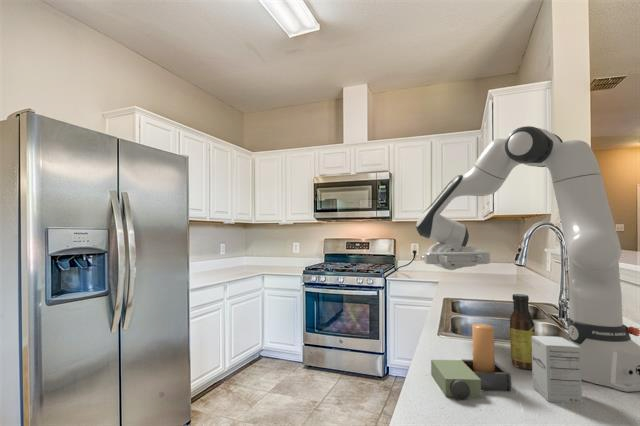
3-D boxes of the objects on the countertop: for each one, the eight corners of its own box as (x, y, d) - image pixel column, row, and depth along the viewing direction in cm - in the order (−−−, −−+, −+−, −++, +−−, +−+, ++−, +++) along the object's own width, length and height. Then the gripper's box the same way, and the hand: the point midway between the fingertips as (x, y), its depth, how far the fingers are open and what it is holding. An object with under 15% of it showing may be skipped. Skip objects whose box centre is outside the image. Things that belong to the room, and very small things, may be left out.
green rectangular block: (461, 375, 91) (461, 360, 91) (483, 400, 77) (483, 382, 78) (431, 374, 91) (431, 359, 91) (447, 399, 78) (447, 381, 78)
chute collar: (494, 375, 91) (493, 360, 91) (511, 391, 82) (510, 374, 82) (461, 374, 91) (461, 359, 92) (474, 390, 82) (474, 373, 83)
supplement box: (531, 387, 84) (530, 335, 85) (564, 389, 83) (563, 336, 84) (547, 402, 77) (545, 344, 78) (583, 404, 76) (581, 346, 77)
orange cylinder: (489, 378, 89) (488, 323, 90) (499, 387, 84) (497, 329, 85) (470, 378, 89) (469, 323, 90) (478, 386, 84) (477, 328, 85)
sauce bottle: (540, 371, 94) (538, 297, 95) (515, 369, 95) (513, 296, 96) (530, 362, 100) (528, 293, 102) (507, 360, 102) (505, 292, 103)
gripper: (418, 247, 119) (429, 249, 105) (478, 247, 118) (497, 248, 104) (419, 266, 119) (430, 270, 105) (479, 265, 118) (498, 269, 104)
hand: (464, 259), depth 105 cm, fingers open, 8 cm apart
